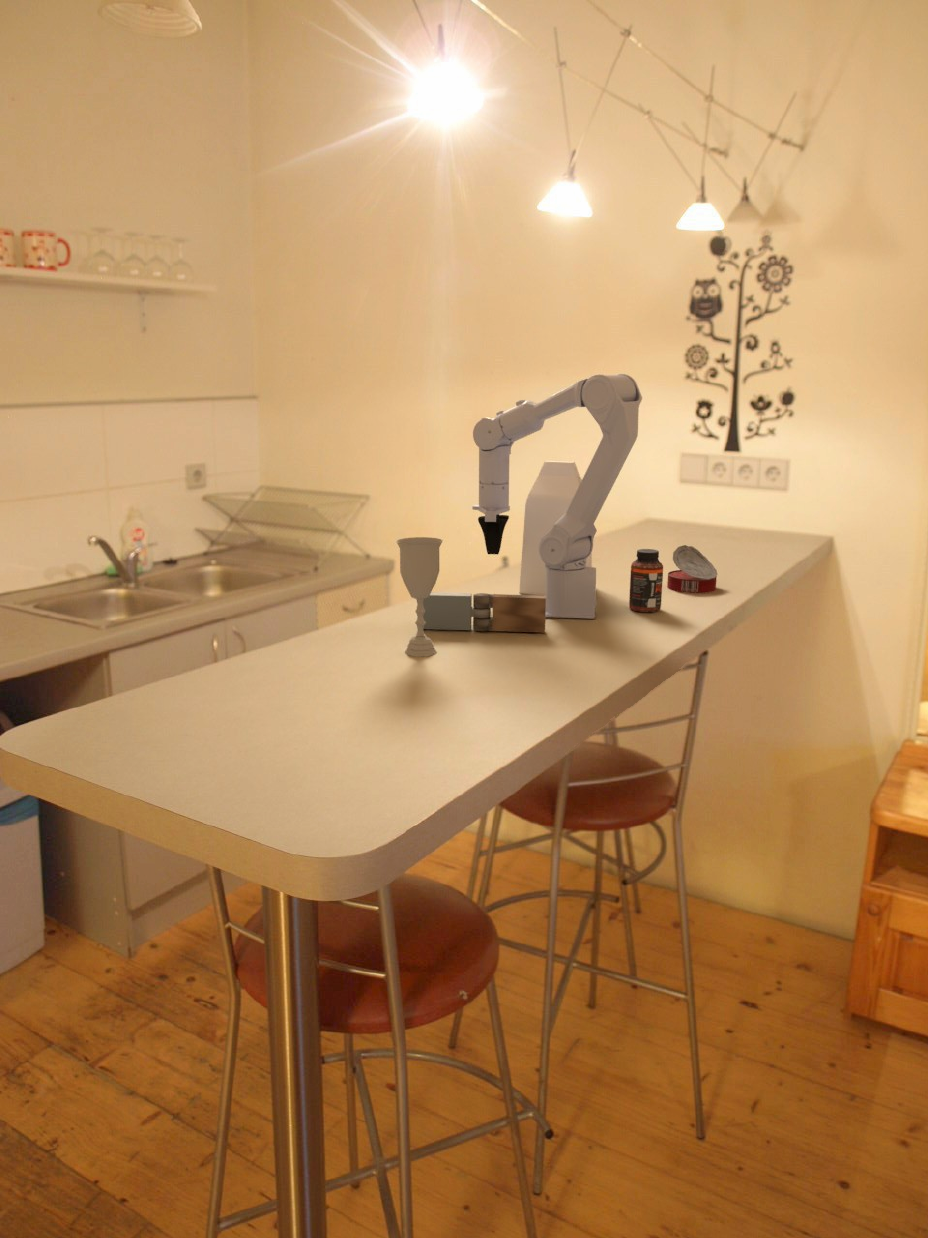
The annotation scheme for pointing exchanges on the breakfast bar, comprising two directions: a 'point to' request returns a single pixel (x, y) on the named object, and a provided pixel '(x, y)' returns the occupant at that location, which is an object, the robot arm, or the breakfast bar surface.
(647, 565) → the supplement bottle
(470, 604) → the swing leaf
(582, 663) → the breakfast bar surface
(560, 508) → the milk
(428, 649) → the chalice
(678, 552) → the canned food
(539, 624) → the fixed leaf
